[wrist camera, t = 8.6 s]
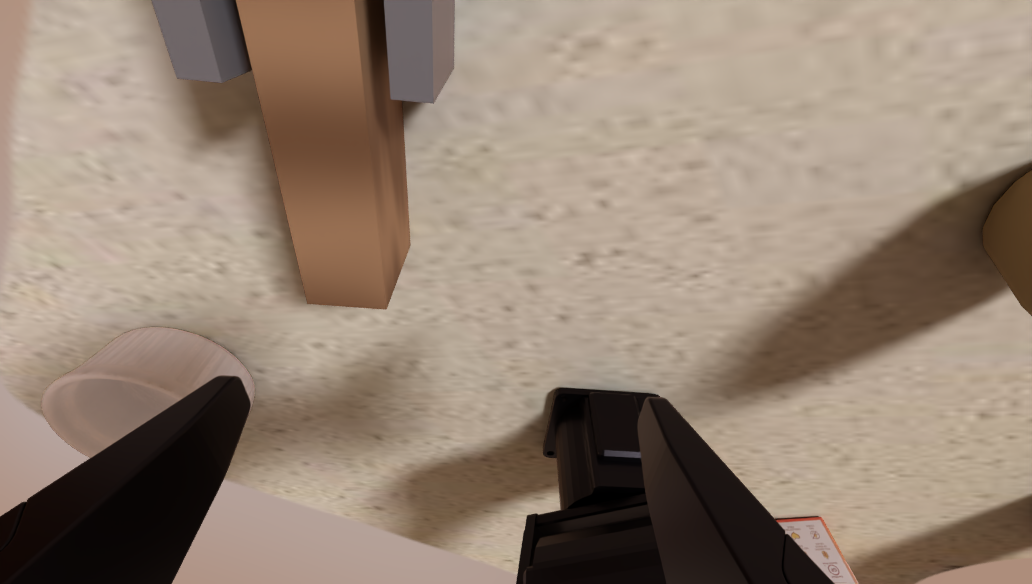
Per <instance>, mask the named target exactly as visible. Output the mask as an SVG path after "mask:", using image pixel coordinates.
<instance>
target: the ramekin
mask: <svg viewBox="0 0 1032 584" xmlns="http://www.w3.org/2000/svg"><path fill="white" fill-rule="evenodd" d="M220 375H228V376H238V377H239V378H241V380H242V382H243V384H244V387H245V389H246V391H247V394H248V396H249V399H250V403H251V407H250V411H251V408H252V405H253V402H254V397H255V386H254V382H253V379H252V377H251V375H250V374H249V372H248V371H247V369H246V368H245V367H244V365H243V364H242V363H241V362H240V361H239V360H238V359H237V358H236V357H235V356H234V355H233V354H232V353H230V352H229V351H228V350H226V349H225V348H223V347H222V346H220V345H218V344H217V343H215V342H213V341H211V340H209V339H207V338H204V337H202V336H199V335H197V334H194V333H191V332H187V331H183V330H179V329H173V328H166V327H146V328H140V329H135V330H132V331H129V332H126V333H124V334H122V335H120V336H118V337H117V338H115V339H114V340H112V341H111V342H110V343H109V344H107V345H106V346H105V347H104V348H102V349H101V350H100V351H99V352H97V353H96V354H95V355H93V356H92V357H91V358H89V359H88V360H87V361H86V362H84V363H83V364H82V365H80V366H79V367H77V368H76V369H75V370H73V371H70V372H68V373H66V374H65V375H63V376H61V377H60V378H58V379H57V380H55V381H54V382H52V383H51V384H50V385H49V386H48V387H47V388H46V389H45V391H44V393H43V395H42V400H41V407H42V412H43V414H44V416H45V419H46V421H47V422H48V423H49V425H50V427H51V428H52V429H53V430H54V431H55V432H56V434H58V436H60V437H61V438H62V439H63V440H64V441H65V442H66V443H68V444H69V445H70V446H71V447H73V448H74V449H76V450H77V451H79V452H81V453H82V454H84V455H86V456H88V457H90V458H91V457H93V456H94V455H96V454H98V453H99V452H101V451H102V450H104V449H105V448H107V447H108V446H110V445H111V444H113V443H115V442H116V441H118V440H119V439H121V438H122V437H124V436H125V435H127V434H128V433H130V432H131V431H133V430H135V429H136V428H138V427H139V426H141V425H142V424H144V423H145V422H147V421H148V420H150V419H152V418H153V417H155V416H156V415H158V414H159V413H161V412H162V411H164V410H165V409H167V408H168V407H170V406H172V405H173V404H175V403H176V402H178V401H179V400H181V399H182V398H184V397H185V396H187V395H188V394H190V393H192V392H193V391H195V390H196V389H198V388H199V387H201V386H202V385H204V384H205V383H207V382H209V381H210V380H212V379H213V378H215V377H217V376H220ZM249 413H250V412H249ZM248 416H249V414H248ZM247 418H248V417H247Z"/></svg>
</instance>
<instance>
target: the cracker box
mask: <svg viewBox="0 0 1032 584" xmlns="http://www.w3.org/2000/svg"><path fill="white" fill-rule="evenodd" d="M776 521H777V522H778V523H779V524H780V525H781V526H782V528H783V529H784V530H785V534H789V535H790V536H791V537H792V538H793V540H794V541H795V542H796V543H797V544H798V545H799V546H800V547H801V548H802V550H803V551H804V552H805V553H806V554H807V555H808V556H809V557H810V558H811V559H812V560H813V561H814V562H815V563H816V565H817V566H818V567H819V568H820V569H821V570H822V571H823V572H824V573H825V574H826V575H827V576H828V577H829V578H830V579H831V580H832V581H833V582H834V583H835V584H859V583H858V581H857V580H856V578H855V576H854V574H853V572H852V570H851V569H850V567H849V565H848V563H847V562H846V560H845V558H844V557H843V555H842V553H841V551H840V549H839V547H838V545H837V544H836V542H835V540H834V538H833V537H832V535H831V533H830V531H829V529H828V528H827V526H826V524H825V522H824V520H823V519H822V518H821V517H809V518H796V519H781V520H776Z"/></svg>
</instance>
